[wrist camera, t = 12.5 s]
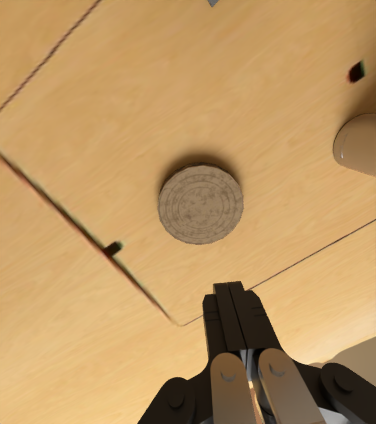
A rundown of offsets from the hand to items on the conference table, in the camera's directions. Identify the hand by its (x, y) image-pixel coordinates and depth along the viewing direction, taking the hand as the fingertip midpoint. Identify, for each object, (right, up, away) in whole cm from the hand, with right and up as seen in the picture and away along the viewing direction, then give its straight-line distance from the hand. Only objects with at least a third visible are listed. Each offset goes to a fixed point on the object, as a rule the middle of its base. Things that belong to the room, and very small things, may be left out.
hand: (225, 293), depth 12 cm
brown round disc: (0, +7, +30) cm, 30 cm away
